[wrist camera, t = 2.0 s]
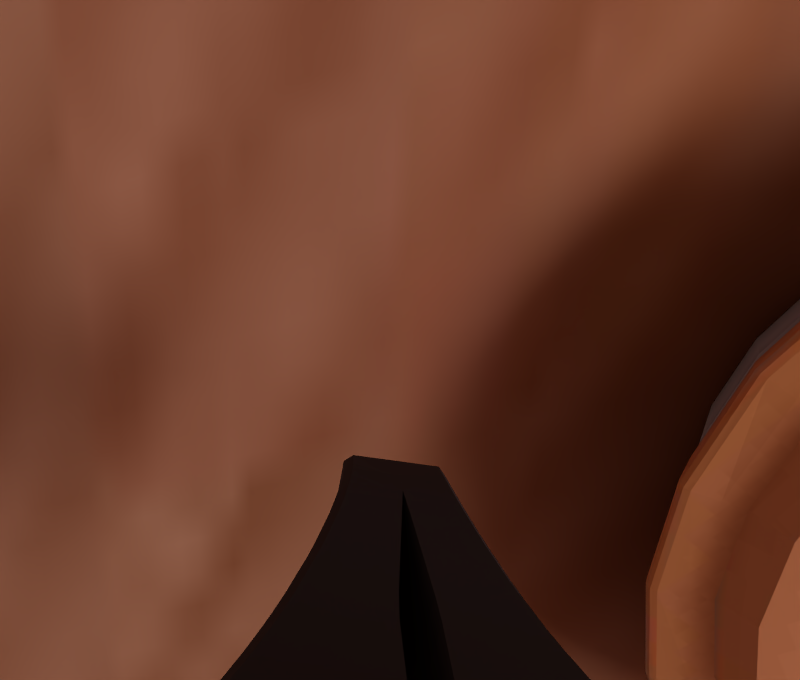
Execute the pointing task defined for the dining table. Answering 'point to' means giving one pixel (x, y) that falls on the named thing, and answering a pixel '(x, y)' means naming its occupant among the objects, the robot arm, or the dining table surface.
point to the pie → (735, 531)
